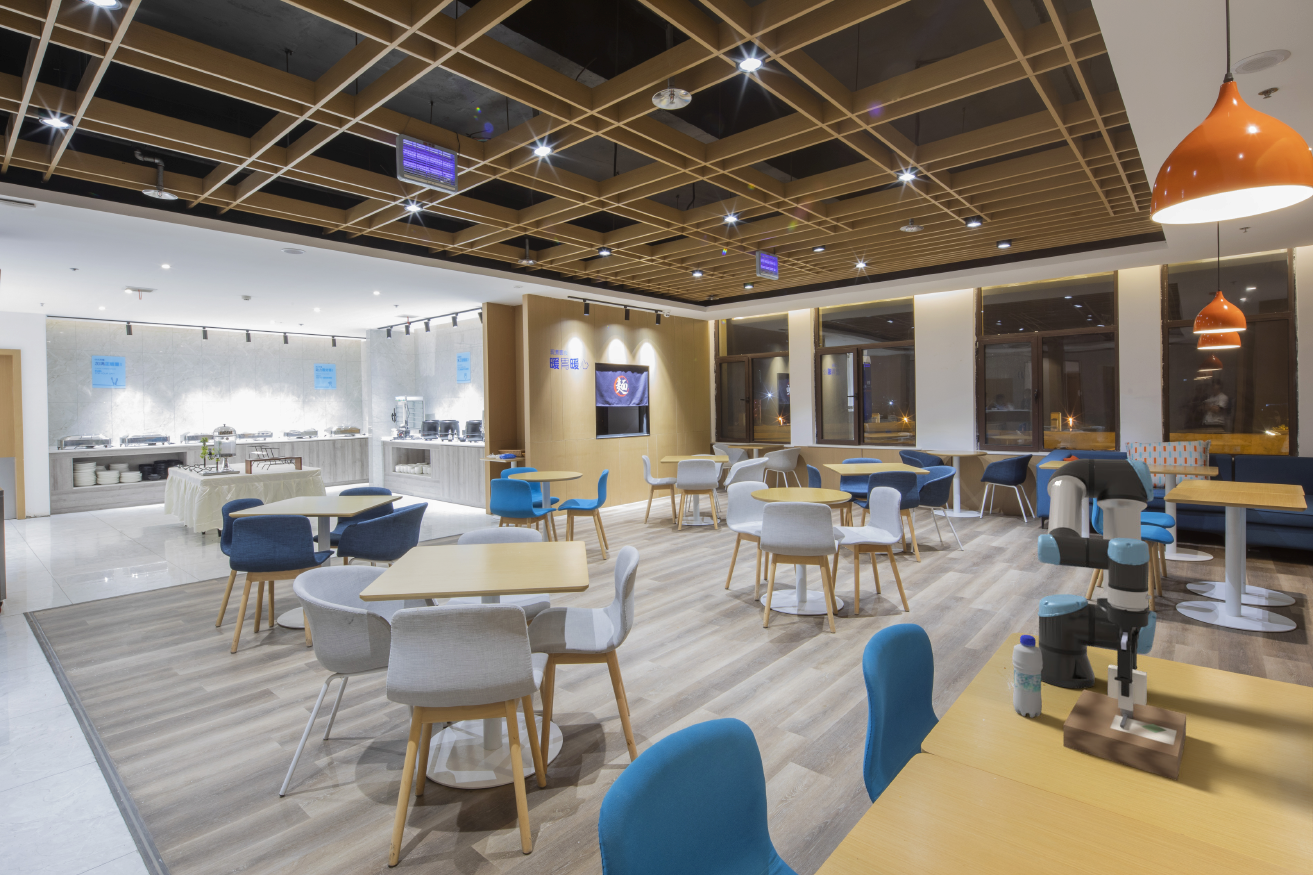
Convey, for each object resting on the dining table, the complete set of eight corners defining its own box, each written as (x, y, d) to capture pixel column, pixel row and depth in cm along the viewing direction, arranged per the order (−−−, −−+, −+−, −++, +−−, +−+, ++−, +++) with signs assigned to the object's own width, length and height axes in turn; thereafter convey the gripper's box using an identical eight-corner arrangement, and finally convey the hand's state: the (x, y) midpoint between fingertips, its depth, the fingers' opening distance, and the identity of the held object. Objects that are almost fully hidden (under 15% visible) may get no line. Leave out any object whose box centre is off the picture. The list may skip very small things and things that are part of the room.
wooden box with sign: (1063, 745, 142) (1063, 724, 142) (1083, 708, 159) (1083, 689, 159) (1177, 780, 128) (1177, 756, 128) (1185, 735, 146) (1186, 713, 145)
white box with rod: (1102, 722, 142) (1103, 676, 141) (1109, 708, 148) (1109, 664, 148) (1141, 733, 137) (1142, 685, 137) (1146, 718, 144) (1146, 672, 143)
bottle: (1034, 707, 161) (1034, 630, 160) (1048, 719, 154) (1048, 640, 153) (1007, 706, 161) (1007, 630, 161) (1019, 719, 155) (1019, 639, 154)
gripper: (1143, 618, 135) (1142, 724, 136) (1152, 600, 148) (1151, 697, 148) (1101, 611, 141) (1101, 713, 141) (1113, 595, 153) (1112, 688, 154)
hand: (1126, 705), depth 145 cm, fingers open, 4 cm apart
